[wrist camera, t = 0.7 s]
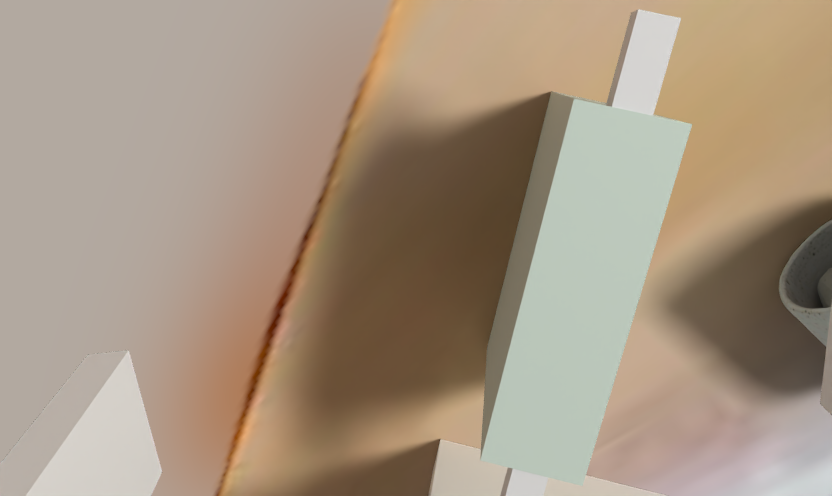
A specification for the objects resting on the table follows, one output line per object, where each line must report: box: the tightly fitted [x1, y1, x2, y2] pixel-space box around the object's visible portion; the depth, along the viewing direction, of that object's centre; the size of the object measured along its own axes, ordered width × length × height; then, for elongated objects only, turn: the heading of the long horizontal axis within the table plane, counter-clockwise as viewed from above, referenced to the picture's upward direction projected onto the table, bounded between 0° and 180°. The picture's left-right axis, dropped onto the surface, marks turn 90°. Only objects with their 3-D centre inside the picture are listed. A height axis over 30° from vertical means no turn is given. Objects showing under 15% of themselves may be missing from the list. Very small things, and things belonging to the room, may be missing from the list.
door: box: [480, 9, 692, 496], centre depth 32 cm, size 4×20×12 cm, turn 168°
